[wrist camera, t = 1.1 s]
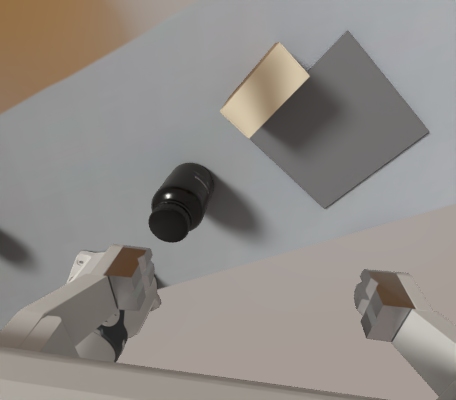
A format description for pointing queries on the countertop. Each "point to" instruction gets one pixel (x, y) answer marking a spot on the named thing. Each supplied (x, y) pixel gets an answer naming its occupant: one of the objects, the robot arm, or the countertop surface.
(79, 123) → the countertop surface
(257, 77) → the slab
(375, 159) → the mat
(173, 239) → the supplement bottle
